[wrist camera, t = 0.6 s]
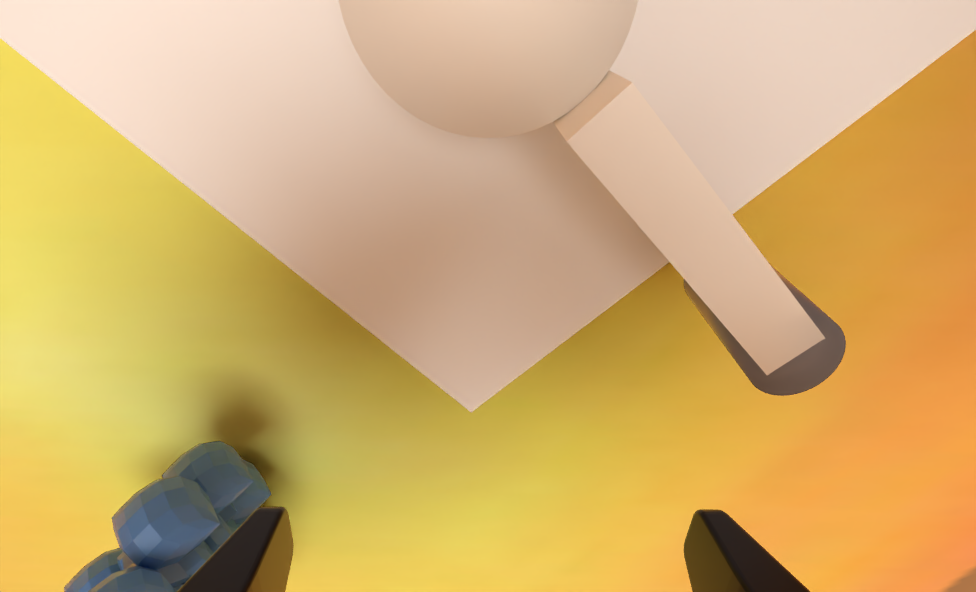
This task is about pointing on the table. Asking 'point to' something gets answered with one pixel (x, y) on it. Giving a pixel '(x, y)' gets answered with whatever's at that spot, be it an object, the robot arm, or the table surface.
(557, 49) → the lock lever
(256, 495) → the grapes
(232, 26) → the lock base
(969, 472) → the table surface
